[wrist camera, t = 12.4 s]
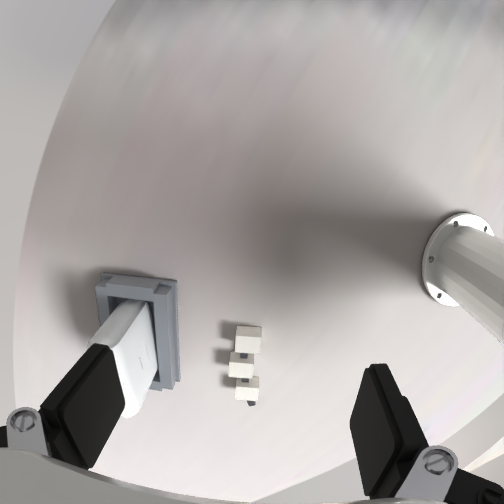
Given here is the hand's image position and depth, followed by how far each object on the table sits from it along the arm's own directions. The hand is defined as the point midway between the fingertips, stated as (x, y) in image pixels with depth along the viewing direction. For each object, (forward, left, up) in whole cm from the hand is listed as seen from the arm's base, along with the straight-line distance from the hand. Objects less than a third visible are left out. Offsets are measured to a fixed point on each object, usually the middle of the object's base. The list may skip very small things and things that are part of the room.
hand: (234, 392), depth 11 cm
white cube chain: (0, +18, -26) cm, 32 cm away
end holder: (+13, +14, -26) cm, 32 cm away
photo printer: (+13, +14, -25) cm, 32 cm away
